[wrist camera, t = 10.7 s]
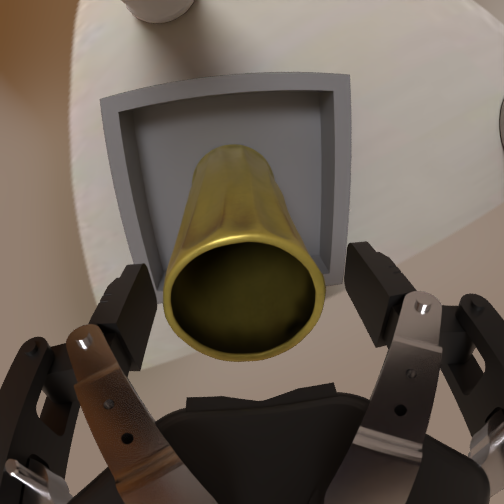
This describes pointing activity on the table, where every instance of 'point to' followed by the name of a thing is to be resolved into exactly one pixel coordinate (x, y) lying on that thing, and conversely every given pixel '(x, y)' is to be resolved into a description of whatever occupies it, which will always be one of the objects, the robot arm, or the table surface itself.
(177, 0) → the bottle
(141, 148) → the bin
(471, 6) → the table surface
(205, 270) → the vase
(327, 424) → the robot arm
